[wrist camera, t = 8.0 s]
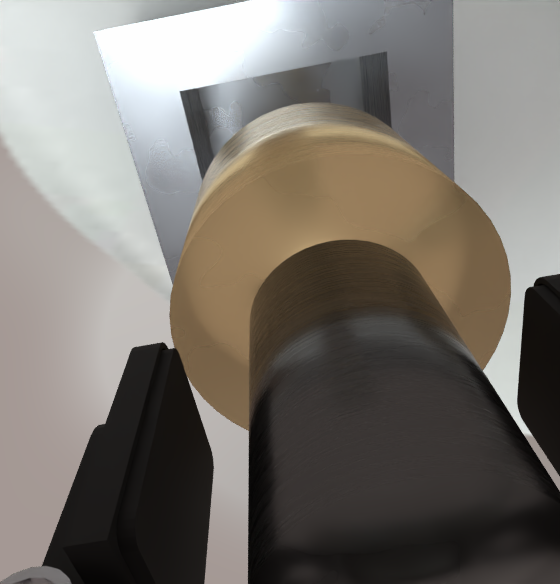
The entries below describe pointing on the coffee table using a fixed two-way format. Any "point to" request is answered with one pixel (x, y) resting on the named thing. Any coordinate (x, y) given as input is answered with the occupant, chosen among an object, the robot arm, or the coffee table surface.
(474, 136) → the coffee table surface
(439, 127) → the block
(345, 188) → the stepped cylindrical shaft
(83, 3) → the coffee table surface
